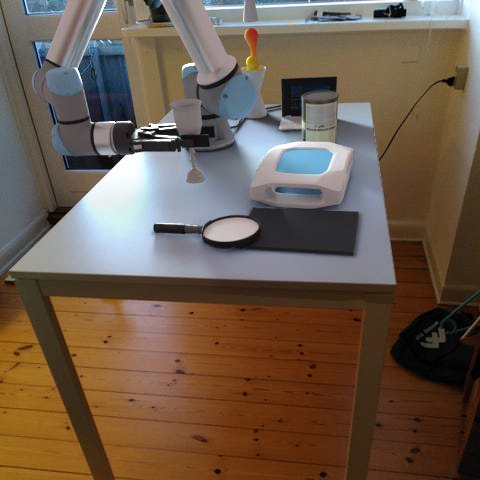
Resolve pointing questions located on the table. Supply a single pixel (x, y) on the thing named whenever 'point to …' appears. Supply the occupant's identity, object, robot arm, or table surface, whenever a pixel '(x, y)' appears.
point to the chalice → (189, 130)
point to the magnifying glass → (219, 231)
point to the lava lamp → (253, 60)
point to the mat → (305, 231)
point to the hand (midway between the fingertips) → (211, 135)
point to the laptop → (292, 97)
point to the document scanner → (303, 174)
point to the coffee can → (319, 116)
